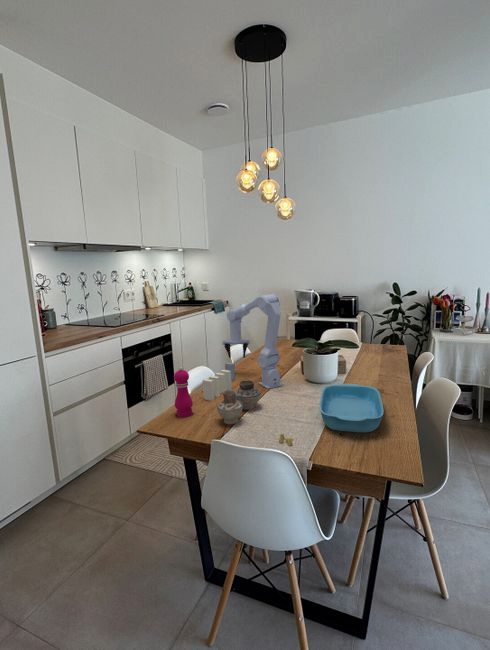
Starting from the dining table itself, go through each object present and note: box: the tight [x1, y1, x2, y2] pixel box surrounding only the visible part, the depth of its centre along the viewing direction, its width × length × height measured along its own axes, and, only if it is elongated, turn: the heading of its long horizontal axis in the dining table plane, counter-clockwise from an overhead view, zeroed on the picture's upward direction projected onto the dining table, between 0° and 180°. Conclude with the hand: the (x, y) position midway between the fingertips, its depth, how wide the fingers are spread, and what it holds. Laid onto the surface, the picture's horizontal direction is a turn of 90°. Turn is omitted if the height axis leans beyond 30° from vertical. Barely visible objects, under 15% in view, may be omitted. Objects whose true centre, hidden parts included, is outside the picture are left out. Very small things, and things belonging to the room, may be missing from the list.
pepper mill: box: [173, 366, 194, 418], centre depth 141 cm, size 7×7×20 cm
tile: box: [214, 372, 227, 394], centre depth 165 cm, size 2×5×9 cm, turn 60°
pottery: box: [216, 379, 262, 425], centre depth 140 cm, size 11×25×12 cm, turn 153°
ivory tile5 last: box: [202, 378, 215, 402], centre depth 156 cm, size 2×5×9 cm, turn 60°
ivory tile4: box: [208, 375, 221, 398], centre depth 161 cm, size 2×5×9 cm, turn 60°
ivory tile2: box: [220, 369, 233, 390], centre depth 169 cm, size 2×5×9 cm, turn 60°
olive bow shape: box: [278, 433, 294, 447], centre depth 118 cm, size 5×5×2 cm
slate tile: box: [224, 362, 236, 382], centre depth 180 cm, size 2×5×9 cm, turn 60°
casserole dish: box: [319, 383, 385, 434], centre depth 134 cm, size 37×22×7 cm, turn 164°
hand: (237, 357), depth 187 cm, fingers open, 7 cm apart
